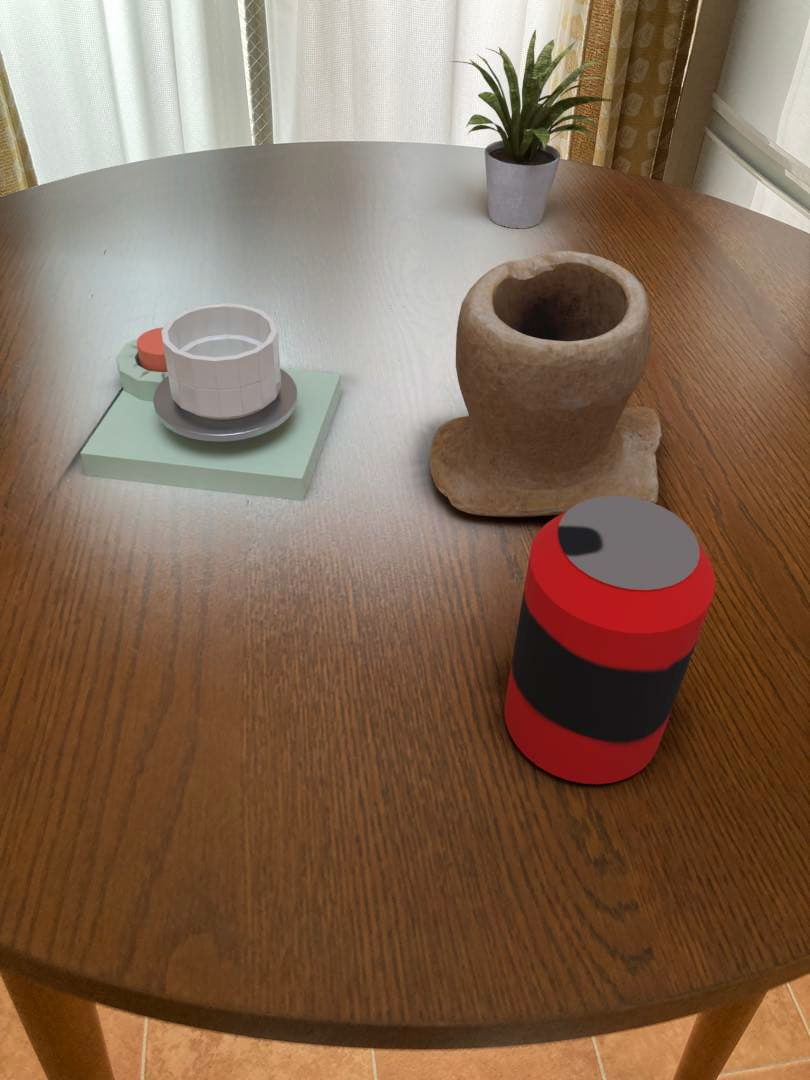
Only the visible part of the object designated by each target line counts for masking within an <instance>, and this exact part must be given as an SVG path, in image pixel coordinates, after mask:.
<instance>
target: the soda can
mask: <svg viewBox="0 0 810 1080" xmlns="http://www.w3.org/2000/svg"><path fill="white" fill-rule="evenodd" d="M524 582H525V583H524V589H523V593H522V599H521V604H520V611H519V617H518V624H517V629H516V635H515V641H514V646H513V653H512V659H511V664H510V670H509V676H508V682H507V687H506V688H507V689H506V695H505V700H504V705H503V711H504V722H505V725H506V728H507V731H508V734H509V735H510V737H511V740H512V741H513V743H514V744H515V746H516V747H517V748H518V749H519V751H520V752H521V753H522V754H523V755H524V756H525V758H527V759H528V760H529V761H530V762H532V763H533V764H534V765H535V766H537V767H538V768H540V769H542V770H543V771H545V772H547V773H549V774H550V775H553V776H555V777H557V778H561V779H562V780H566V781H570V782H573V783H579V784H585V785H604V784H612V783H617V782H620V781H623V780H626V779H629V778H631V777H632V776H635V775H636V774H637V773H639V772H642V770H643V769H644V768H645V767H647V765H648V764H650V762H651V761H652V760H653V758H654V756H655V755H656V753H657V751H658V749H659V746H660V743H661V741H662V739H663V735H664V734H665V733H664V732H665V730H666V727H667V724H668V721H669V719H670V716H671V713H672V710H673V707H674V705H675V702H676V699H677V697H678V694H679V692H680V688H681V686H682V683H683V681H684V678H685V676H686V672H687V669H688V667H689V664H690V661H691V658H692V656H693V653H694V650H695V647H696V645H697V642H698V639H699V637H700V634H701V631H702V629H703V625H704V623H705V620H706V617H707V614H708V612H709V609H710V607H711V603H712V602H713V598H714V594H715V591H716V573H715V572H714V569H713V565H712V562H711V561H710V559H709V557H708V556H707V554H706V552H705V550H704V549H703V547H702V546H701V545H700V543H699V541H698V538H697V537H696V535H695V533H694V532H693V530H692V529H691V528H690V526H689V525H688V524H687V523H686V522H685V521H684V520H683V519H681V518H680V517H679V516H678V515H676V514H675V513H674V512H672V511H670V510H668V509H667V508H666V507H664V506H661V505H659V504H657V503H655V504H654V503H652V502H649V501H645V500H642V499H638V498H633V497H627V496H601V497H596V498H591V499H587V500H585V501H582V502H580V503H578V504H576V505H575V506H573V507H572V508H570V509H569V510H568V511H566V512H564V513H563V514H559V515H556V516H555V517H553V518H552V519H551V520H549V521H548V522H546V523H545V524H544V525H543V526H542V527H541V529H539V531H538V532H536V534H535V537H534V538H533V540H532V543H531V546H530V552H529V558H528V563H527V569H526V576H525V581H524Z"/></svg>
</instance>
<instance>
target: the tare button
mask: <svg viewBox="0 0 810 1080" xmlns="http://www.w3.org/2000/svg"><path fill="white" fill-rule="evenodd" d="M163 328H164V326H163V327H157V328H153V329H150V330H147V331H145V332H143V333H142V334H141V335H140V336H139V337H137V339H138V340H137V348H138V354H139V359H140V364H141V366H142V367H143V368H144V369H146V370H148V371H154V372H167V365H166V359H165V353H164V347H163V341H162V332H161V331H162V329H163Z"/></svg>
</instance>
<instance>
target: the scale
mask: <svg viewBox="0 0 810 1080" xmlns="http://www.w3.org/2000/svg"><path fill="white" fill-rule="evenodd" d="M137 340H138V338H136V339H134V340H131V341H129V342H127V343H125V345H124V346H123V347H122V349H121V350H120V352H119V353H118V354H117V355H116V357H115V360H116V365H117V370H118V375H119V379H120V382H121V385H122V389H123V390H122V391H121V392H120V393H119V395H118V396H117V398H116V400H115V401H114V402H113V404H112V406H111V407H110V409H109V410H108V411H107V413H106V414H105V416H104V417H103V419H102V420H101V422H100V423H99V425H98V426H97V427H96V429H95V431H94V432H93V433H92V435H91V437H90V438H88V439H89V440H88V441H87V443H86V444H85V445H84V446H83V448H82V449H81V451H80V459H81V462H82V465H83V470H84V474H85V477H88V478H89V477H90V478H98V479H107V480H114V481H125V482H133V483H140V484H149V485H157V486H158V485H159V486H167V487H173V488H175V487H176V488H184V489H193V490H201V491H210V492H218V493H226V494H227V493H228V494H236V495H244V496H252V497H260V496H262V497H261V498H270V499H272V498H271V497H274V498H273V499H277V498H281V499H280V500H286V499H289V500H288V501H295V500H297V501H296V502H304V501H305V499H306V496H307V494H306V493H308V490H309V487H310V485H311V482H312V479H313V477H314V473H315V471H316V468H317V465H318V462H319V460H320V456H321V455H322V452H323V448H324V446H325V442H326V440H327V437H328V435H329V432H330V428H331V425H332V423H333V420H334V417H335V415H336V412H337V409H338V405H339V403H340V401H341V398H342V382H341V381H342V380H341V379H342V378H341V376H342V375H341V373H334V372H324V371H316V370H315V371H314V370H306V369H297V368H286V367H280V368H281V369H282V370H284V371H285V372H286V373H287V374H288V375H289V376H290V377H291V378H292V379H293V381H294V382H295V385H296V388H297V404H296V407H295V409H294V411H293V413H292V414H291V415H290V417H289V418H288V419H287V420H285V421H284V422H283V423H282V424H280V425H279V426H278V427H276V428H274V429H272V430H270V431H268V432H266V433H263V434H261V435H258V436H255V437H251V438H247V439H242V440H235V441H204V440H197V439H193V438H189V437H185V436H183V435H180V434H178V433H176V432H173V431H172V430H170V429H169V428H167V427H166V426H165V425H164V424H163V423H162V422H161V421H160V420H159V419H158V417H157V415H156V413H155V409H154V404H153V397H154V393H155V390H156V388H157V386H158V385H159V384H160V383H161V381H162V380H163V379H164V378H165V377H167V376H168V372H154V371H148V370H146V369H144V368H143V367H142V366H141V364H140V359H139V354H138V348H137ZM266 496H267V497H266ZM303 500H304V501H303Z"/></svg>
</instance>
